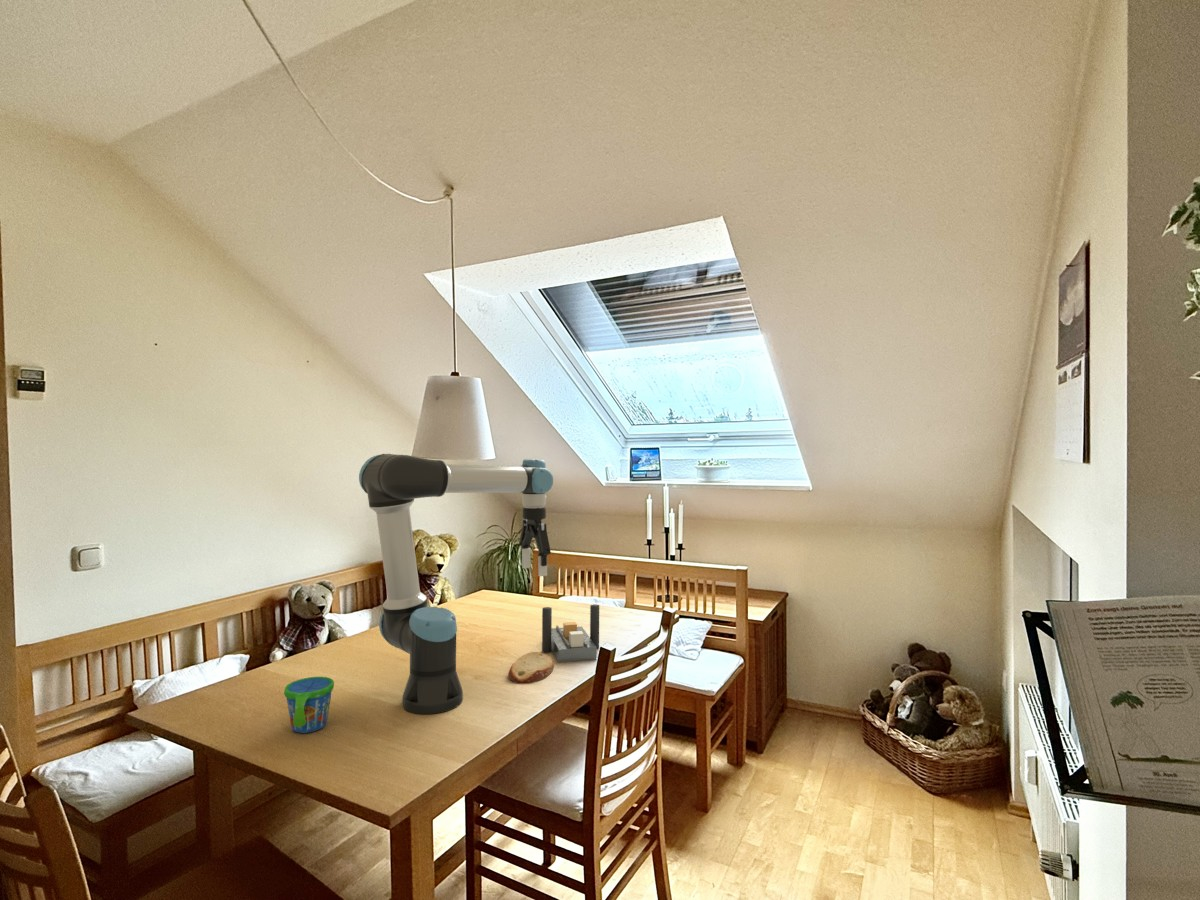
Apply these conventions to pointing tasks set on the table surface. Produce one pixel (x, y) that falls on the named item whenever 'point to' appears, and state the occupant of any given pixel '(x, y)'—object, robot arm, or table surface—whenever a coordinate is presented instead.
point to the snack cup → (309, 703)
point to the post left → (546, 629)
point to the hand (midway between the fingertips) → (534, 571)
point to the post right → (594, 624)
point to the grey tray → (570, 653)
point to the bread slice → (531, 668)
